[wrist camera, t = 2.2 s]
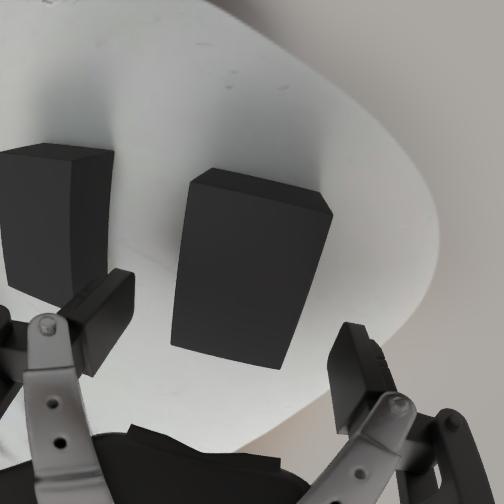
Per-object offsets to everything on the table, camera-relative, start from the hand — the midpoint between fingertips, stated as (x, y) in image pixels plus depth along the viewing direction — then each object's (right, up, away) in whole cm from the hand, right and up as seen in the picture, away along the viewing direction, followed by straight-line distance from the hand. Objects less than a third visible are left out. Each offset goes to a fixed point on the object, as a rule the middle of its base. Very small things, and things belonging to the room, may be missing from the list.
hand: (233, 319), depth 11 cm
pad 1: (-10, +5, +5) cm, 12 cm away
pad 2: (+1, +2, +5) cm, 6 cm away
